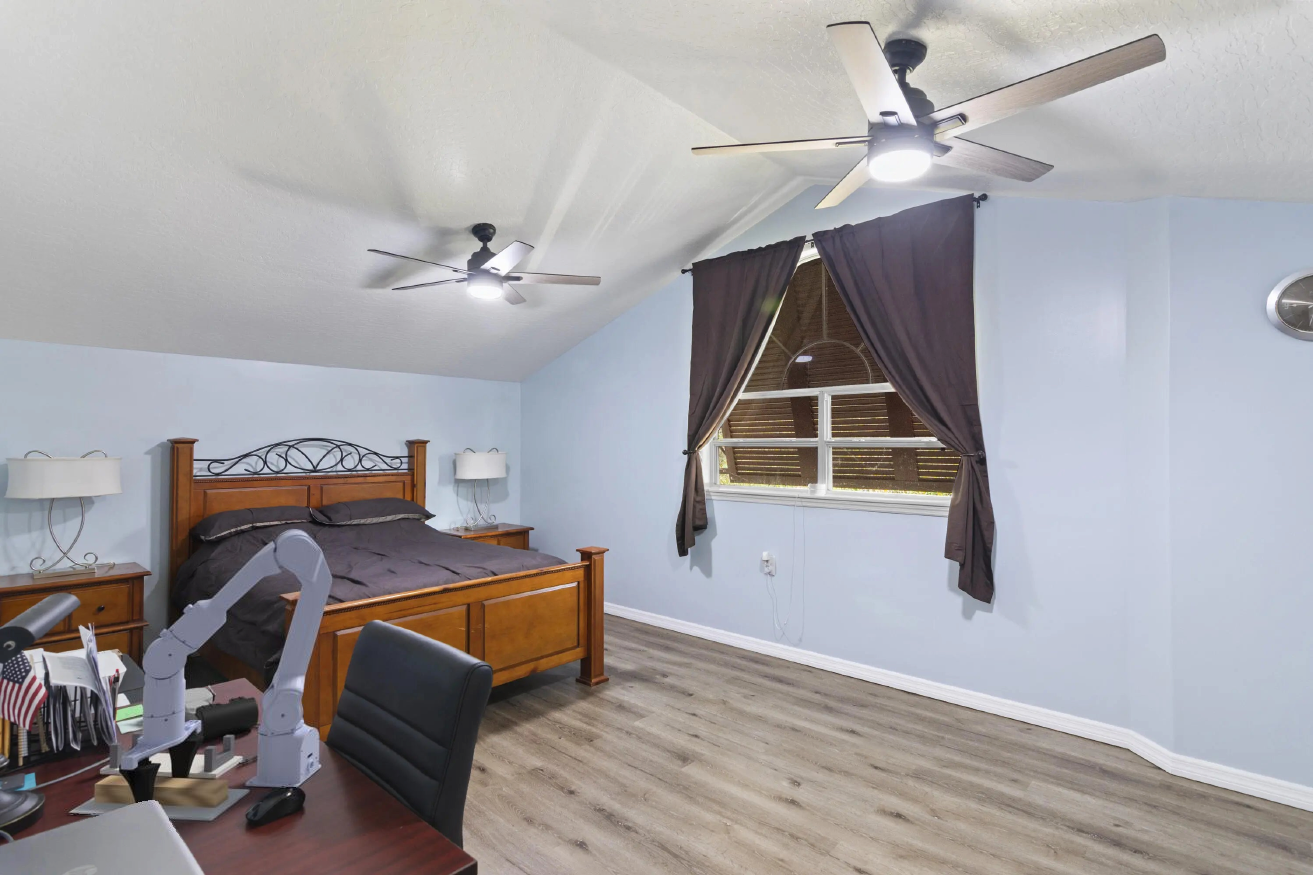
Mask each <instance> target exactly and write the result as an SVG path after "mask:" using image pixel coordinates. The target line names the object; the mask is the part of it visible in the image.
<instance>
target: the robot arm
mask: <svg viewBox="0 0 1313 875" xmlns="http://www.w3.org/2000/svg"><path fill="white" fill-rule="evenodd" d="M281 566H282V567H283V568H284V569H286V570H288V571H290V572H291V573H293V574H294V575H295V577H296V578H297V579H298V581H299V582H300V583H301V589H300V592H299V596H298V599H297V603H296V605H295V610H294V612H293V616H292V620H291V622H290V625H289V629H288V633H287V637H286V640H285V642H284V645H283V650H282V654H281V656H280V660H279V663H278V666H277V669H276V671H275V673H274V675H273V678H272V681H271V683H270V685H269V687H268V688H267V689H266V690H265V691H264V693H263V694H262V695H261V699H260V708H261V710H262V712H261V713H262V716H261V721H262V722H261V724H259V726H258V727H257V762H256V763H257V764H256V765H257V769H256V770H257V772H256V773H257V774H256V775H254V776H253V777H251V778H250V779H248V781H246V782H245V786H246V787H263V788H264V787H267V788H268V787H269V788H283V787H282V786H292V787H296V788H298V787H299V786H300V785H302V784H303V783H304V782H306V781H307V779H309V778H310V777H312V775H314V774H315V773H316V772H317V771H318V770H320V769H321V767H322V764H320V733H319V730H318V729H317V728H316V727H312V726H309V725H307V724H305V721H304V718H303V715H304V708H303V704H302V698H303V693H304V689H305V681H306V680H305V679H306V673H307V671H308V667H309V664H310V660H311V656H312V655H313V654H312V653H313V650H314V646H315V642H316V639H317V637H318V633H319V629H320V626H321V623H322V622H321V621H322V618H323V614H324V611H325V608H326V604H327V601H328V597H329V594H330V591H331V588H332V583H333V576H332V574H331V571H330V569H329V566H328V563H327V561H326V558H325V556H324V553H323V550H322V549H321V547H319V545H318V544H317V543H316V541H315V540H314V539H313V538H312V537H311V536H310V535H309V534H308V532H306V531H304V530H303V529H297V528H296V529H295V528H291V529H288V530H284V531H283V532H281V533H280V534H279V535H277V538H276V539H275V541H271V542H269V543H268V544H266V545H265V546H264V547H263V548H261V549H260V550H259V551H258V552H257V553H255V555H253V556H252V557H251V558H250V559H249V560H248V562H246V563H245V565H244V566H243V567H242V568H241V569H240V570H238V571H237V573H236V574H235V575H234V576H232V578H231V579H230V580H229V581H227V583H226V584H225V585H224V586H223V587H221V589H220V590H219V591H218V592H217V593H216V594H214V596H213V597H212V598H209V599H202V600H197V602H196V603H194V604H193V605H192V604H188V605H187V606H186V607H185V608H184V609H183V613H184V614H183V615H181V617H179V618H178V620H176V621H175V622H174V623H173V624H172V625H171V626H170V627H169V628H168V629H166V628H164V629H162V631H161V632H160V633H159V638H156V639H155V640H154V641H152V643H150V644H149V645H148V647H147V649H146V652H145V654H144V655H143V658H142V668H143V671H144V672H145V674H144V678H143V679H144V683H145V684H144V685H143V688H142V689H143V692H142V693H143V694H142V732H143V734H142V737H140V738H138V739H137V743H138V744H137V745H136V746H135V747H134V748H133V749H132V750H131V751H130V752H128V753H127V754H126V755H124V756H122V757H121V764H120V765H119V772H120V773H121V774H122V775H121V776H123V777H124V778H125V779H126V781H127V782H128V784H129V786H130V788H131V791H132V794H133V797H134V800H135V803H138V802H142V801H148V800H152V799H153V792H154V783H155V779H156V777H157V776H156V775H157V772H158V770H159V768H160V766H161V763H151V761H149V758H150V757H152V756H154V755H155V754H157V753H162V752H163V751H164V750H168V753H169V754H170V759H171V772H172V777H171V778H186V779H189V777H188V776H189V773H190V769H191V766H192V763H193V760H194V757H195V755H197V754H198V750H199V749H200V747H201V745H202V744H203V743H202V742H203V741H204V736H203V735H196V734H198V732H200V731H201V720H190V721H188V722H186V723H185V690H186V688H187V687H186V681H187V680H186V679H185V665H186V663H187V657H188V656H189V655H190V654H193V653H195V652H197V651H198V649H200V647H202V646H203V645H204V644H205V643H206V642H207V641H208V640H209V639H210V638H211V637H212V636H213V635H214V634H215V633H216V632H217V631H218V630H219V629H220V628H221V627H222V626H224V624H225V623H226V622H227V611H228V610H230V609H231V607H233V605H234V604H236V603H237V602H238V601H239V600H240V599H241V598H242V597H243V596H245V594H247V593H248V592H249V591H250V590H251V588H253V587H254V586H255V585H256V584H257V583H258V582H260V581H261V580H262V579H264V578H265V577H268V576H272V575H277V574H281V573H282V569H281Z"/></svg>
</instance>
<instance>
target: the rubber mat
mask: <svg viewBox="0 0 1313 875" xmlns="http://www.w3.org/2000/svg"><path fill="white" fill-rule="evenodd" d="M248 793H250V789H243V788H242V789H241V788H228V799H226V800H225V801H224V802H222V803H221V804H220V805H218V806H217V807H216V808H209V807H187V806H165V805H162V807H163V809H164V810H165V812H166V814H167V815H168V816H169V818H170V819H169V820H189V821H213V820H215V818H217V817H218V816H220V815H221V814H222V813H223V812H225V811H227V810H228V809H229V808H230V807H231V806H233V805H234V804H236V803H237V802H238V801H239V800H240V799H242V798H243V797H245V796H246V795H247V794H248ZM127 805H130V804H120V803H97V802H94V797H92V798H91V799H89V800H87V801H85V802H84V803H82V804H80V805H79V806H77V807H75V808H73V809H72V810H71V811H70V810H69V813H79V814H91V815H90V816H95V815H99V814H102V813H105V812H109V811H113V810H116V809H118V808H122V807H124V806H127ZM69 813H68V814H69ZM94 813H95V814H94Z"/></svg>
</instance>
